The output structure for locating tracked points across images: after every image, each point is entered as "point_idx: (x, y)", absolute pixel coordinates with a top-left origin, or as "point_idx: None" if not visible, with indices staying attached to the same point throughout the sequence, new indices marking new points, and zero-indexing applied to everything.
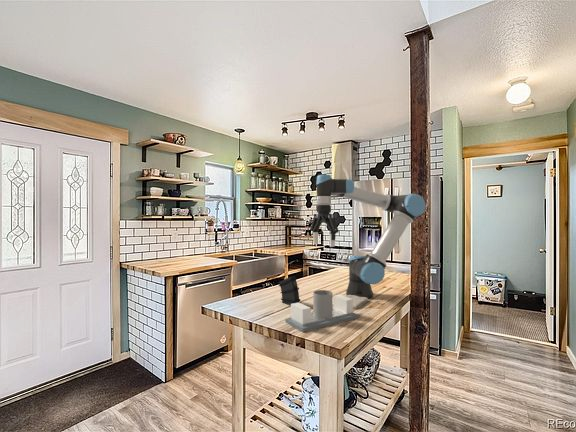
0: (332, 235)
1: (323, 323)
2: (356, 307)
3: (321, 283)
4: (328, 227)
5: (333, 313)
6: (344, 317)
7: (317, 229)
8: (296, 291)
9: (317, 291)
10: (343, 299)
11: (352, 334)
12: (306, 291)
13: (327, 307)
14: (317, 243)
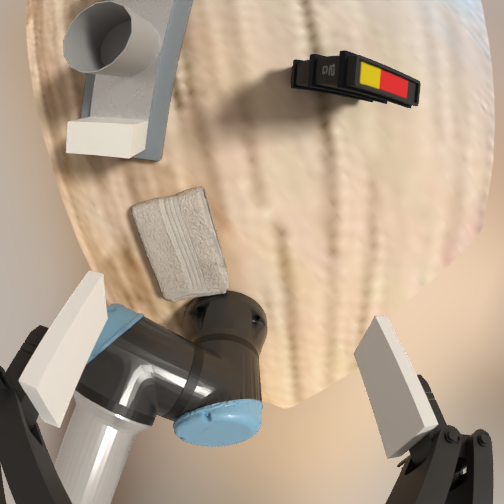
0: (21, 370)
1: None
2: (132, 209)
3: None
4: (39, 489)
5: (115, 84)
6: (86, 99)
7: (400, 483)
8: (308, 71)
9: (132, 35)
10: (81, 121)
11: (35, 57)
12: (386, 246)
13: (88, 38)
14: (359, 352)
